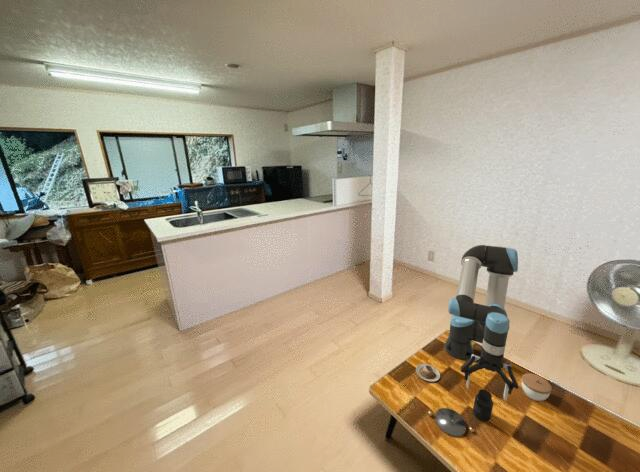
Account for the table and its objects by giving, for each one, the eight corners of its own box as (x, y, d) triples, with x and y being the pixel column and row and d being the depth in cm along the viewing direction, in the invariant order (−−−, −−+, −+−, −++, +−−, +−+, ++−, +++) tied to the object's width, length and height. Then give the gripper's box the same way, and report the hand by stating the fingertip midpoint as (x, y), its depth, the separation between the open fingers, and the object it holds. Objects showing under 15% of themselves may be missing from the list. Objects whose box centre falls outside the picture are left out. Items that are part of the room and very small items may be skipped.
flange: (429, 403, 120) (429, 400, 120) (473, 419, 112) (474, 417, 112) (426, 425, 110) (426, 422, 110) (474, 445, 102) (475, 442, 102)
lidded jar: (525, 402, 119) (528, 386, 116) (515, 383, 129) (518, 368, 126) (553, 408, 116) (557, 391, 113) (541, 388, 125) (545, 372, 123)
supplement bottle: (493, 423, 110) (497, 401, 107) (475, 421, 111) (479, 399, 108) (486, 408, 116) (490, 387, 113) (470, 406, 118) (473, 385, 115)
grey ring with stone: (411, 374, 138) (412, 367, 136) (422, 362, 145) (423, 355, 144) (433, 387, 129) (434, 380, 128) (443, 374, 137) (444, 366, 135)
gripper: (457, 346, 107) (452, 387, 113) (533, 366, 95) (523, 411, 101) (458, 336, 113) (453, 375, 119) (529, 353, 102) (520, 396, 107)
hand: (485, 391), depth 110 cm, fingers open, 13 cm apart
